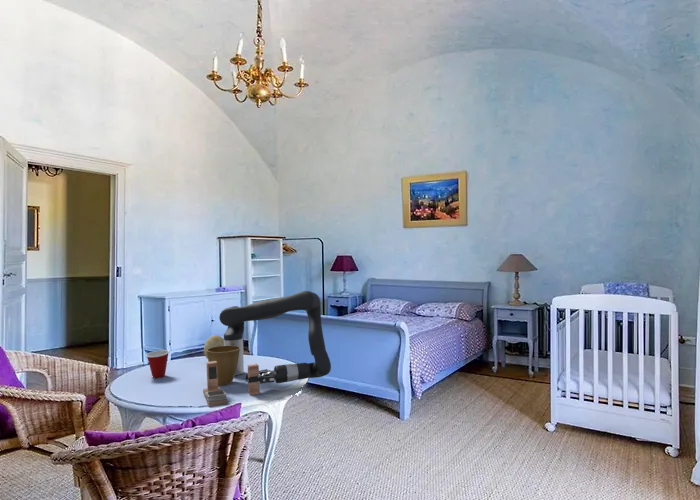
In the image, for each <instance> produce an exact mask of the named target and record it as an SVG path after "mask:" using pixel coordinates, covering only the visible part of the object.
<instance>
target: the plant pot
mask: <svg viewBox="0 0 700 500" xmlns="http://www.w3.org/2000/svg"><path fill="white" fill-rule="evenodd" d="M239 351H240V347H238V346H217V347H212V348H208V349H207V356H208V359H207V362H212V361H216V362H217V373H218V386H225V385H227V386H228V385H231V384H232V383H233V381H234V378H235V376H236V375H235V372H236V368H237V363H238V358H239Z"/></svg>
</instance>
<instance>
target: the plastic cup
mask: <svg viewBox="0 0 700 500" xmlns="http://www.w3.org/2000/svg"><path fill="white" fill-rule="evenodd" d="M169 353H170V350H167V349H165V350H164V349H160V350H154V351H150V352H148V353H145V357H146V358H147V361H148V364H149V369H150V373H151V377H152V376H153V377H160V378H163V377H165V375H166V371H167V366H168V365H167V364H168V358H169ZM153 377H152V378H153Z"/></svg>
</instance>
